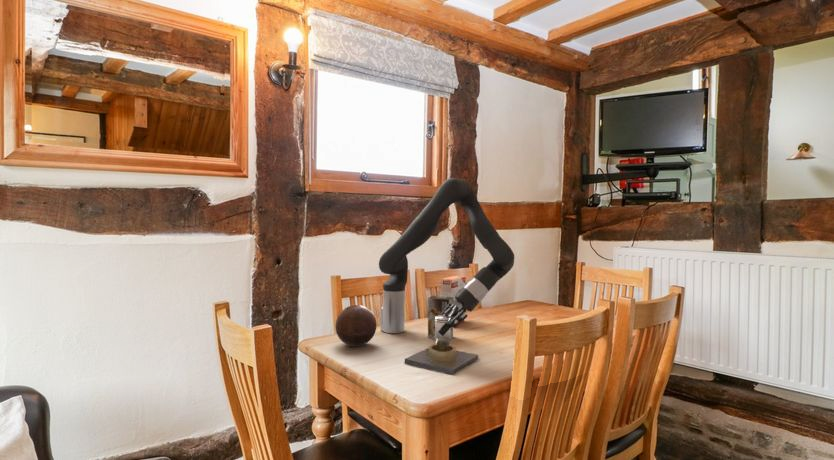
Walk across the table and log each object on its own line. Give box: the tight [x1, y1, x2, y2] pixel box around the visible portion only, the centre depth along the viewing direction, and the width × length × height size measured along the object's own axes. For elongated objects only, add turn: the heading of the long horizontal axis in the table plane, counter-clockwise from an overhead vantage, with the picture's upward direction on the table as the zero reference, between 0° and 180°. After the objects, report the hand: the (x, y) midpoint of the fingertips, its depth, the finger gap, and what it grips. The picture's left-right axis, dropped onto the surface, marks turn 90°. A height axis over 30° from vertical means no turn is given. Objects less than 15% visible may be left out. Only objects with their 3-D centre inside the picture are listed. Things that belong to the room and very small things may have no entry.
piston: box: [434, 315, 452, 346], centre depth 148 cm, size 5×5×9 cm
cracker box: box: [440, 275, 467, 324], centre depth 200 cm, size 14×6×21 cm, turn 148°
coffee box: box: [427, 295, 454, 340], centre depth 177 cm, size 9×6×16 cm
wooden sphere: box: [335, 304, 377, 347], centre depth 164 cm, size 15×15×15 cm
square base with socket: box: [404, 344, 479, 376], centre depth 148 cm, size 18×18×4 cm
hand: (437, 331), depth 147 cm, fingers closed on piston, 5 cm apart
